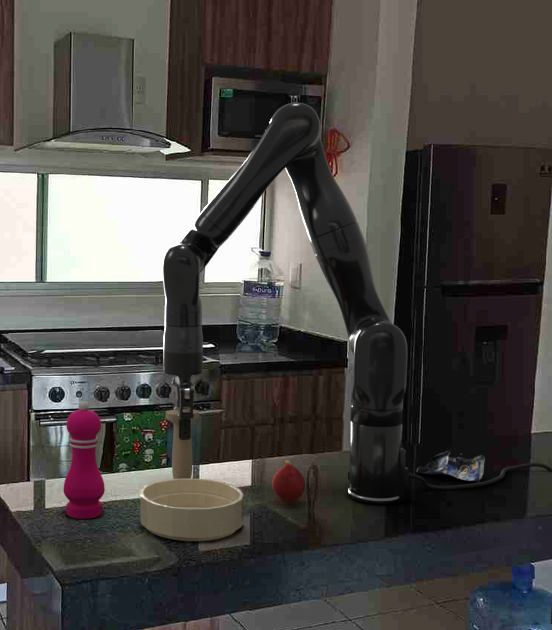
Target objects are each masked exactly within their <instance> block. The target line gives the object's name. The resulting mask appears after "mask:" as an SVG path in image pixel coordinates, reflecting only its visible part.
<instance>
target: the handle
mask: <svg viewBox="0 0 552 630" xmlns="http://www.w3.org/2000/svg"><path fill="white" fill-rule="evenodd" d="M183 412H188V409H183ZM193 414H194V417H193V419H192V420H191V425H192V424H193V423H194V422H196V421H197V420H199V418H200V411H199V410H197V409H193ZM165 419H166V420H168V421H169V422H171V423H172V424H173V437H172V438H173V439H172V451H171V455H172V456H171V471H172V479H188V478H193V477H192V476H193V465H194V463H193V461H194V460H193V458H194V457H193V443H192V437H191V438H190V439H189V440H180V439H179V419H178V410H174V409H170V410H166V411H165Z"/></svg>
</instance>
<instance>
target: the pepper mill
mask: <svg viewBox="0 0 552 630" xmlns="http://www.w3.org/2000/svg"><path fill="white" fill-rule="evenodd" d="M89 407H90V405H89V402H88V401H86V400H82V401H80V402H79V403H78V409H77V410H74V411H72V412H71V413H70V414H69V415H68V417H67V420H66V430H67V432H68V433H69V435H70V437H69V446H70V448H71V462H70V466H69V469H68V471H67V474H66V476H65V479H64V483H63V490H62V491H63V495H64V496H65V498H66V499H67V500H68V502H66V504H65V505H66V506H65V507H66V510H65V511H66V516H68V517H69V518H73V519H76V520H78V519H79V520H85V519H86V520H87V519H93V518H98V517H99V516H101V515H102V514H103V503H102V501H100V500H101V499H102V497H103V496H104V494H105V491H106V489H105V482H104V478H103V475H102V473H101V471H100V470H99V466H98V462H97V456H96V453H97V452H96V450H97V447H98V446H99V437H98V436H97V435H98V434H99V433H100V431H101V429H102V421H101V417H100V416H99V415H98V413H97V412H96V411H94V410H91V409H89Z"/></svg>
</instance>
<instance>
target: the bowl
mask: <svg viewBox="0 0 552 630" xmlns="http://www.w3.org/2000/svg"><path fill="white" fill-rule="evenodd" d="M244 497H245V495H244V492H243V491H242V489H240V488H239V487H237V486H235V485H234V484H230V483H228V482H227V483H226V482H224V481H219V480H215V479H214V480H213V479H207V478H194V477H191V478H188V479H173V478H172V479H165V480H164V479H163V480H159V481H154V482H151V483H148V484H146V485H145V486H143V487H142V488H141V489H140V490H139V520H140V521H139V522H140V524H141V526H143V527H144V528H145V529H146V530H148V531H149V532H150V533H151V534H154V535H156V536H158V537H161V538H163V539H164V538H165V539H168V540H174V541H184V542H206V541H214V540H219V539H223V538H226V537H229V536H231V535H233V534H235V533H236V532H237V531H238V530H239V529H240V528H242V526H243V524H244V508H245V507H244V504H245V503H244V499H245V498H244Z"/></svg>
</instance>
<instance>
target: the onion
mask: <svg viewBox="0 0 552 630" xmlns="http://www.w3.org/2000/svg"><path fill="white" fill-rule="evenodd" d="M271 486H272V490H273V492H274V494H275V495H276V496H277V497H278V498H279V499H280V500H281V501H282V502H283V503H284V504H285V505H291V504H292V503H294V502H296V501H297V500H299V499H300V498H301V497H302V496H303V494H304V492H305V489H306V481H305V478H304V476H303V474H302V472H301V471H300V470H299V469H298V468H297V467H295V466H294V465H293V464H292V463H291V462H290V461H289V460H285V462H284V465H283V466H282V467H280V468H278V470H277V471H276V473H275V474H274V475H273V477H272V481H271Z"/></svg>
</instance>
